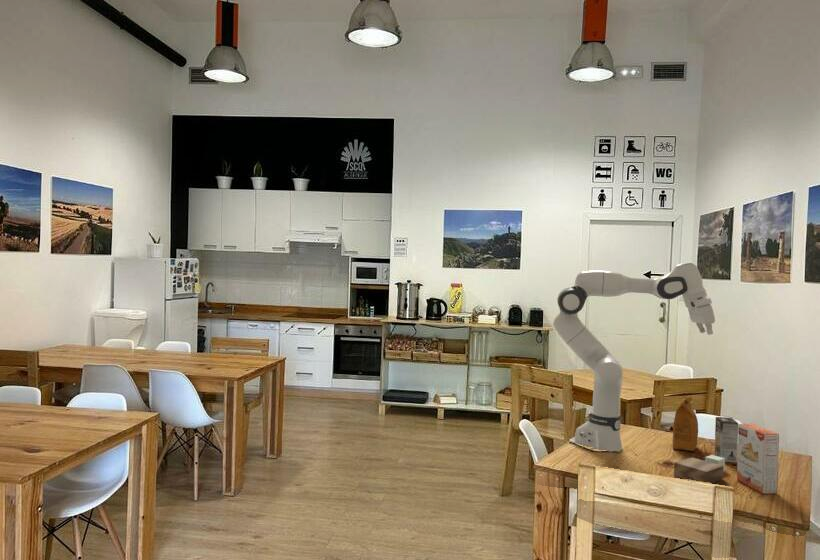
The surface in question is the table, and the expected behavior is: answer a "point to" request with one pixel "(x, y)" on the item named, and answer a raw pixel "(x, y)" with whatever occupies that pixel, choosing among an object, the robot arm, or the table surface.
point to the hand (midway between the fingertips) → (706, 333)
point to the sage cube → (716, 460)
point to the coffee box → (726, 438)
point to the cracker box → (758, 458)
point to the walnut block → (698, 470)
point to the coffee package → (685, 427)
